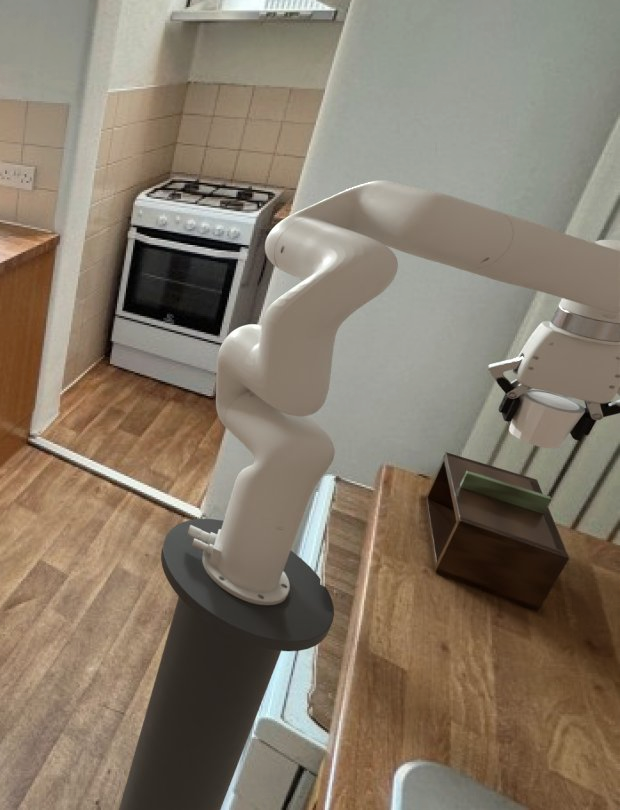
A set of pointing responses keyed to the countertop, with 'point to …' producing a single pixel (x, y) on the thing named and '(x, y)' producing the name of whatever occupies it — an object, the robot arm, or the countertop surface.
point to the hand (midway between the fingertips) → (539, 425)
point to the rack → (494, 531)
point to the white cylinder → (545, 418)
